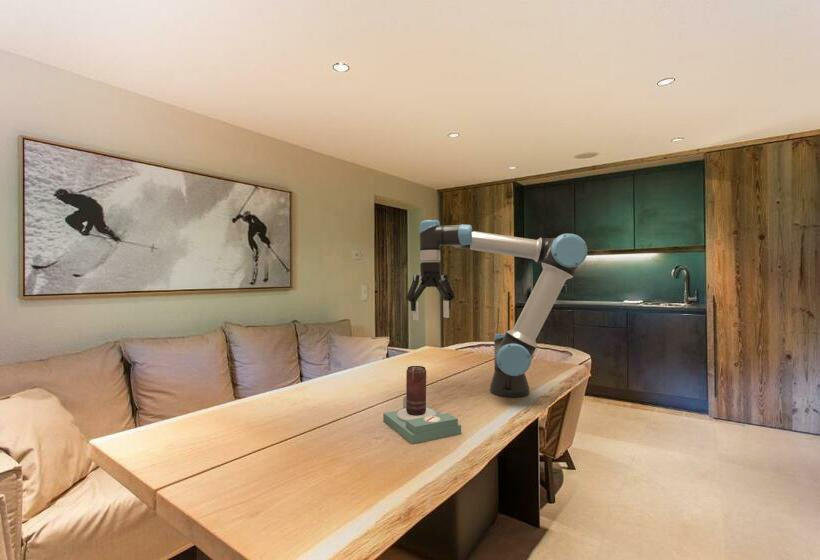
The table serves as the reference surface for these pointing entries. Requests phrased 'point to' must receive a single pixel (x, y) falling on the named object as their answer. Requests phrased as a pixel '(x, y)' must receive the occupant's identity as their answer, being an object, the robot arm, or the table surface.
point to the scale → (422, 425)
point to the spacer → (404, 402)
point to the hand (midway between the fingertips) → (431, 318)
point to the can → (416, 390)
